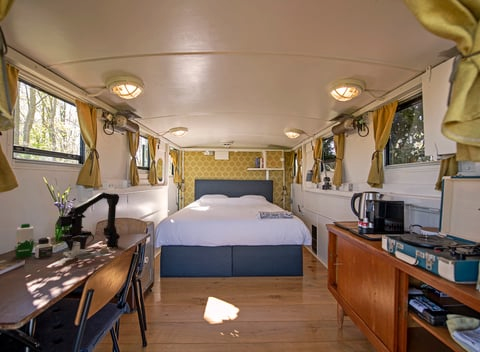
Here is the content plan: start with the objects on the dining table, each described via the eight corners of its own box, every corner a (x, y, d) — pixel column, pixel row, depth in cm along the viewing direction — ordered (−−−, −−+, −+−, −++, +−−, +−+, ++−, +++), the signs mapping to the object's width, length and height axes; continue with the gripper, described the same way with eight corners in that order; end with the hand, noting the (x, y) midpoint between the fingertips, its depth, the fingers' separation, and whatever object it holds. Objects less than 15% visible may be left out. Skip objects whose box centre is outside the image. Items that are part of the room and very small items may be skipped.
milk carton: (33, 253, 157) (34, 223, 158) (33, 256, 151) (34, 224, 151) (14, 255, 152) (16, 224, 152) (14, 259, 145) (15, 226, 146)
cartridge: (81, 253, 155) (82, 241, 155) (75, 256, 151) (75, 243, 151) (76, 253, 156) (76, 240, 157) (69, 255, 152) (69, 242, 152)
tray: (80, 252, 160) (80, 249, 160) (87, 255, 155) (87, 251, 155) (63, 256, 152) (63, 252, 152) (69, 259, 146) (69, 255, 146)
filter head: (105, 251, 163) (105, 247, 163) (112, 254, 158) (112, 249, 158) (75, 258, 148) (75, 253, 149) (82, 261, 143) (82, 256, 143)
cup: (72, 247, 172) (73, 231, 173) (94, 245, 178) (95, 229, 178) (68, 251, 163) (69, 233, 164) (92, 249, 169) (92, 232, 169)
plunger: (105, 250, 161) (105, 246, 161) (108, 251, 158) (108, 246, 159) (100, 251, 158) (100, 247, 158) (102, 252, 155) (102, 248, 156)
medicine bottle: (38, 259, 145) (39, 239, 145) (35, 257, 149) (36, 238, 150) (52, 256, 151) (53, 237, 151) (49, 254, 155) (50, 236, 155)
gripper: (80, 222, 165) (79, 244, 165) (52, 226, 147) (51, 252, 147) (92, 223, 162) (91, 246, 162) (66, 228, 144) (65, 253, 144)
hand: (75, 249), depth 154 cm, fingers open, 7 cm apart
